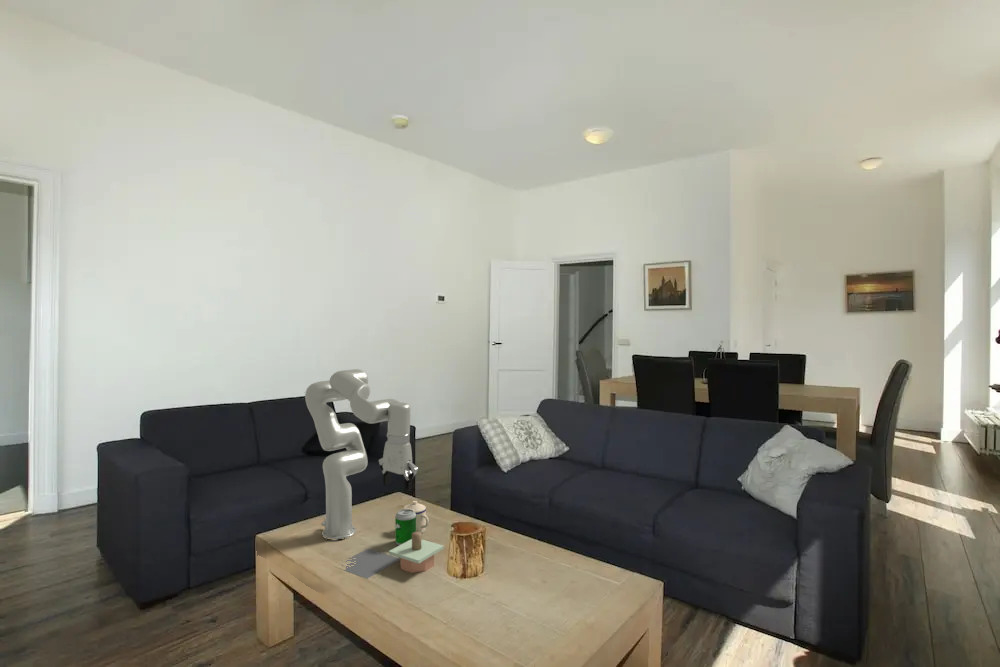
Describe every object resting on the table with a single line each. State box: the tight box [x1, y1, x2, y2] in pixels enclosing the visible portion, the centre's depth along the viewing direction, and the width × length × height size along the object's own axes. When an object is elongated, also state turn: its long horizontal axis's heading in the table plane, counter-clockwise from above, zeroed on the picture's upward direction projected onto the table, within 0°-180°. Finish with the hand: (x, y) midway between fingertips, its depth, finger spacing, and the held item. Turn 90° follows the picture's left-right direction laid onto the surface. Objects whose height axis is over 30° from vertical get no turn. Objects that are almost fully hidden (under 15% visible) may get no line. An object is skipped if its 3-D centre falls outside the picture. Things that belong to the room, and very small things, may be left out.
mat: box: [342, 548, 400, 580], centre depth 178 cm, size 16×16×1 cm
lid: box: [388, 532, 445, 564], centre depth 177 cm, size 13×13×6 cm
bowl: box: [399, 554, 435, 573], centre depth 177 cm, size 11×11×5 cm
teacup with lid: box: [402, 500, 430, 534], centre depth 205 cm, size 12×9×12 cm
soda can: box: [394, 509, 416, 546], centre depth 194 cm, size 8×8×12 cm
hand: (397, 487), depth 182 cm, fingers open, 9 cm apart
